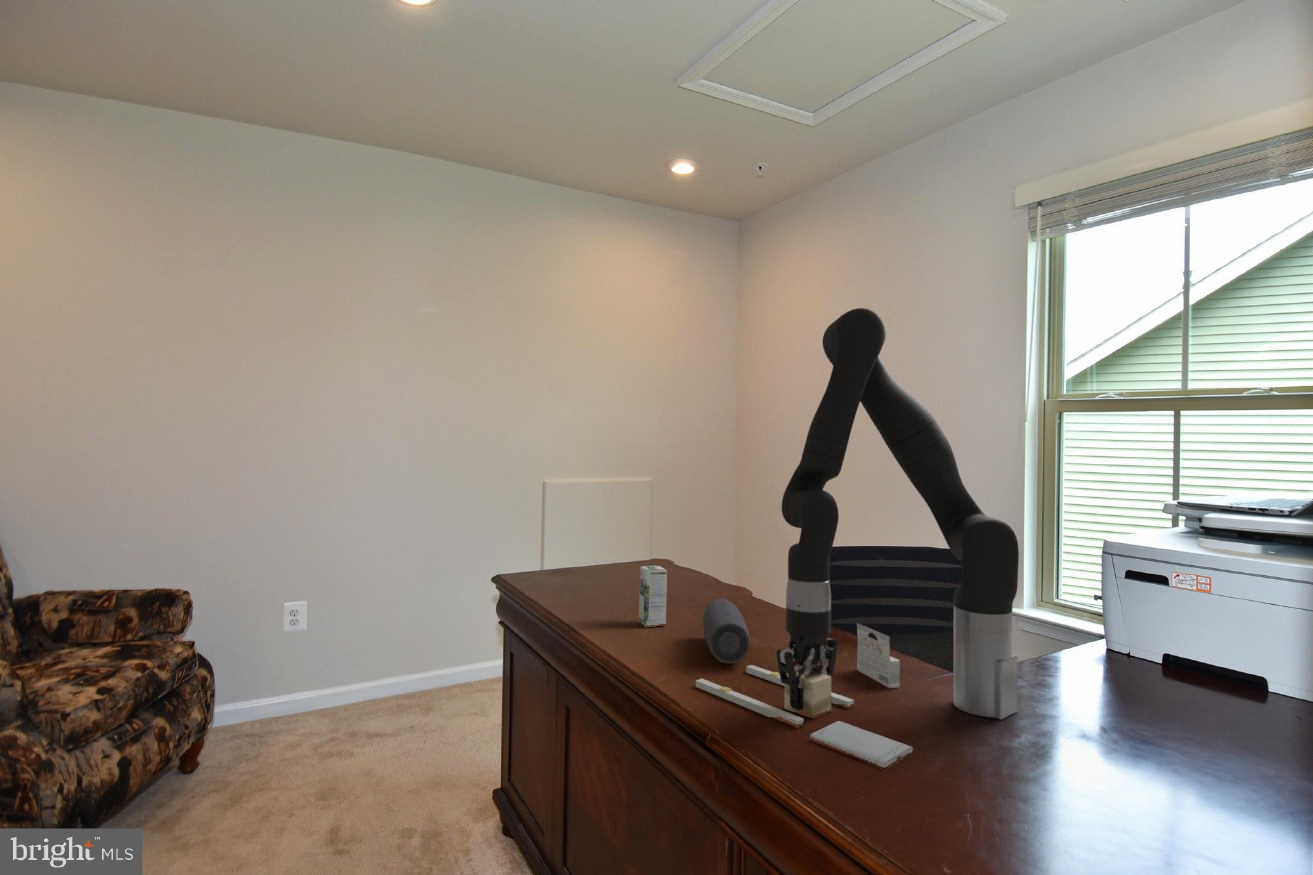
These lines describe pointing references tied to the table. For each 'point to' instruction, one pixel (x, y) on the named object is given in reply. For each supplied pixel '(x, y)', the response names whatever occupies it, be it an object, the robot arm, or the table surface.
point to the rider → (812, 694)
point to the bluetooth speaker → (725, 631)
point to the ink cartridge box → (877, 657)
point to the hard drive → (862, 743)
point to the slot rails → (758, 705)
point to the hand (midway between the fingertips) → (807, 704)
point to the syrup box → (652, 595)
